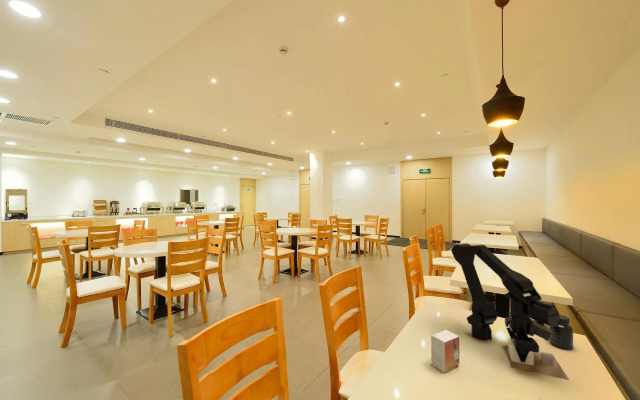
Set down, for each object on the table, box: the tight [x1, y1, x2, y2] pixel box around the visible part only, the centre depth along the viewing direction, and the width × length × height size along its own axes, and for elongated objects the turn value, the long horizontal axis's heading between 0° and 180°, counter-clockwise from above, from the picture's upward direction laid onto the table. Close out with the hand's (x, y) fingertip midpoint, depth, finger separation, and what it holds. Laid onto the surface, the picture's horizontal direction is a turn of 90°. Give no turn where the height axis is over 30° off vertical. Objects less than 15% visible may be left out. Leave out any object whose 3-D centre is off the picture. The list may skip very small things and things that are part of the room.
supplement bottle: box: [548, 313, 574, 351], centre depth 100 cm, size 7×7×12 cm
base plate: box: [502, 345, 570, 381], centre depth 91 cm, size 15×14×1 cm
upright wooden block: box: [540, 351, 555, 366], centre depth 89 cm, size 3×1×4 cm, turn 64°
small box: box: [430, 329, 461, 374], centre depth 91 cm, size 8×6×10 cm
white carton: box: [507, 337, 534, 366], centre depth 93 cm, size 6×6×5 cm
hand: (520, 356), depth 93 cm, fingers closed on white carton, 6 cm apart
